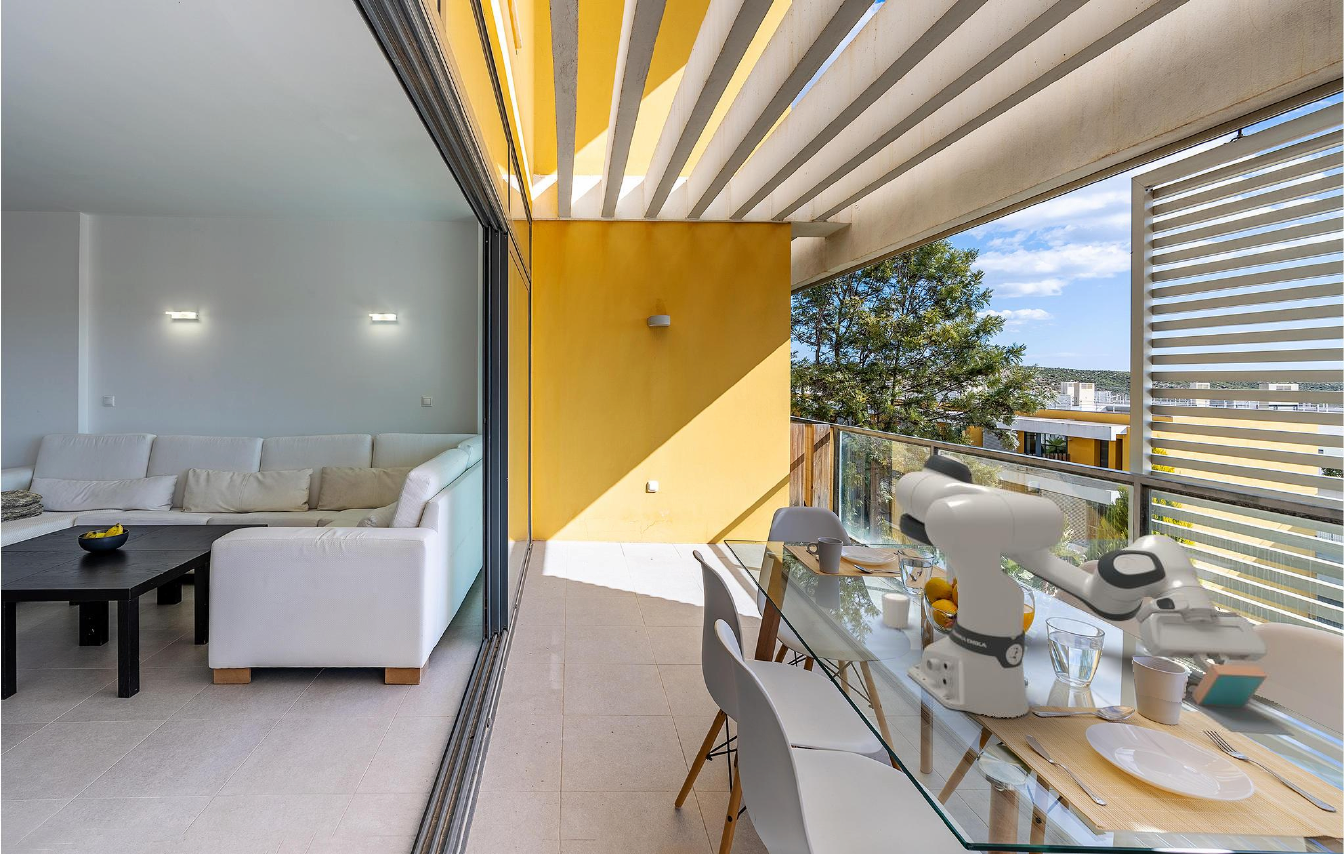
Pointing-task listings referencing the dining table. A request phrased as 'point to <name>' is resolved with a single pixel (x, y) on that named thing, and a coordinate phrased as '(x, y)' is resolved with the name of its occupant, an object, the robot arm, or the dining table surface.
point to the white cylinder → (895, 609)
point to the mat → (1239, 718)
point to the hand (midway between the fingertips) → (1220, 680)
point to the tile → (1228, 685)
